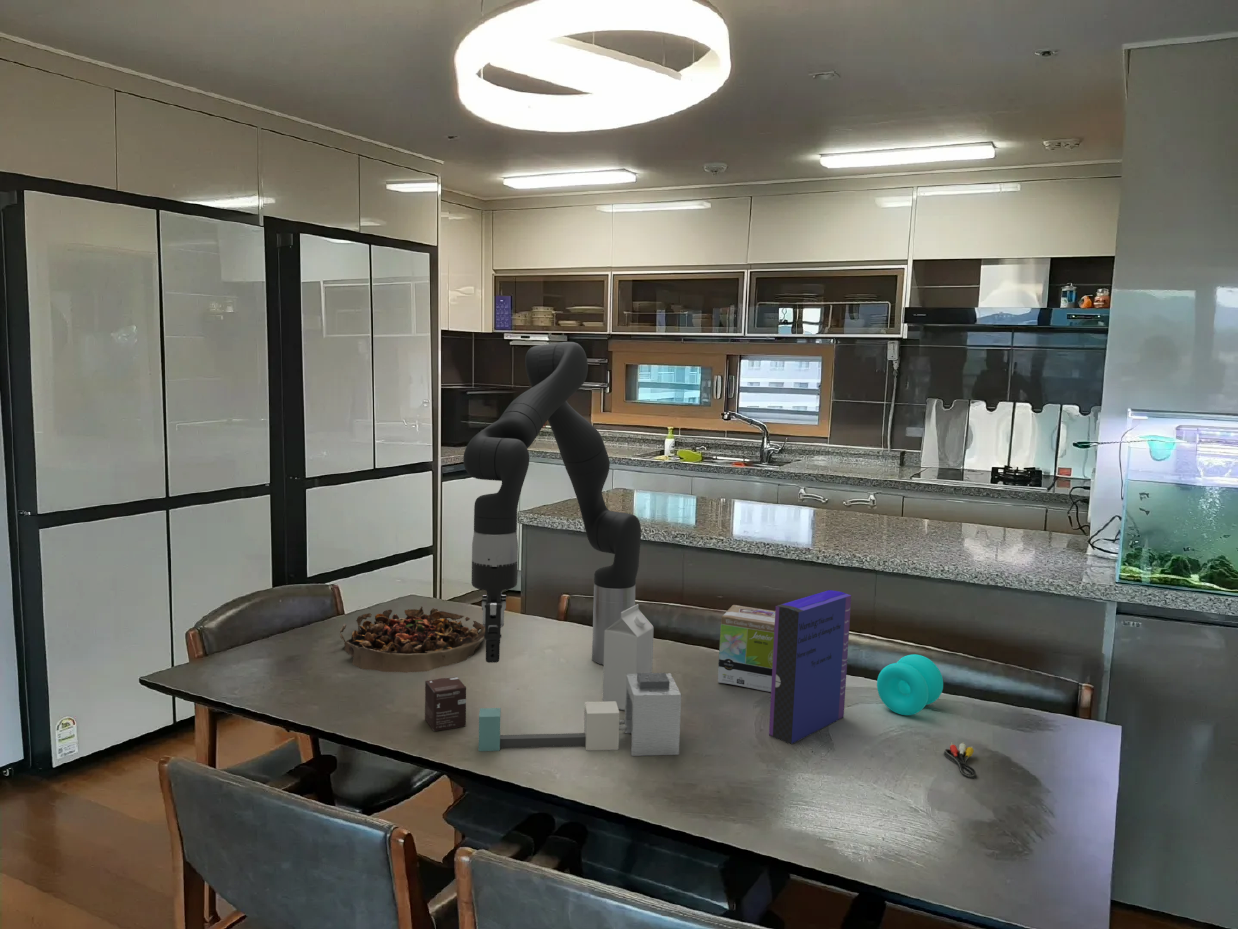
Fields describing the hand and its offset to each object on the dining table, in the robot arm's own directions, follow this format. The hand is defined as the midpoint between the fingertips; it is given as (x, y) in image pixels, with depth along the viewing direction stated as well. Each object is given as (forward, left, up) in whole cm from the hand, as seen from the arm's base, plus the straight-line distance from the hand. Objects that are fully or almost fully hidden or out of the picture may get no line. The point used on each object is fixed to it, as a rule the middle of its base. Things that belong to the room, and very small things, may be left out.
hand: (493, 653), depth 139 cm
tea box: (-27, +54, -17) cm, 63 cm away
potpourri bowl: (-53, -20, -17) cm, 59 cm away
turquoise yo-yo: (-12, +80, -17) cm, 83 cm away
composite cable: (+11, +78, -17) cm, 81 cm away
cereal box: (-5, +57, -17) cm, 60 cm away
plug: (0, +10, -16) cm, 19 cm away
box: (-10, -9, -17) cm, 21 cm away
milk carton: (-17, +25, -17) cm, 35 cm away
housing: (0, +27, -16) cm, 32 cm away
